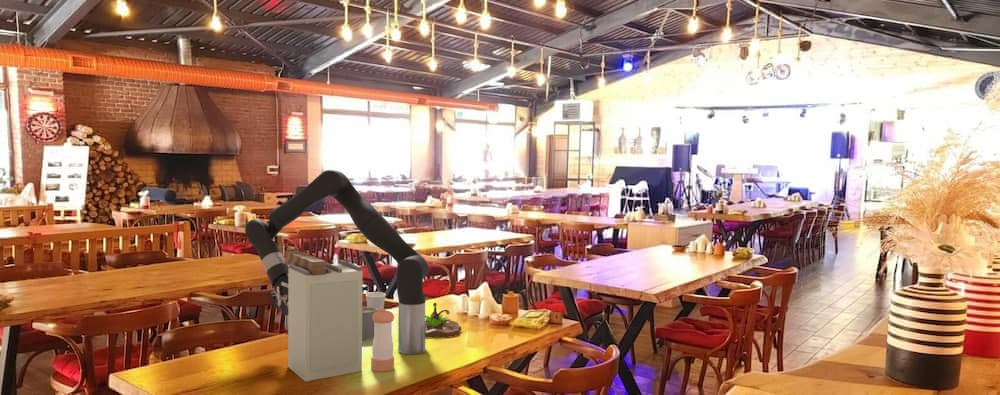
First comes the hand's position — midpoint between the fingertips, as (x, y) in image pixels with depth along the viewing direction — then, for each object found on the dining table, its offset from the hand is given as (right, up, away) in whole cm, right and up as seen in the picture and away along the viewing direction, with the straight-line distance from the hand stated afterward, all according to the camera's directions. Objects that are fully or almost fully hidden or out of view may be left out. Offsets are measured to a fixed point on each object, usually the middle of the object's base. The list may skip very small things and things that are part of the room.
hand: (294, 307), depth 217 cm
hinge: (-7, -15, +38) cm, 41 cm away
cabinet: (+13, -17, -12) cm, 25 cm away
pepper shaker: (+31, -18, -10) cm, 38 cm away
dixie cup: (+17, -14, +55) cm, 59 cm away
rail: (+8, +15, -14) cm, 22 cm away
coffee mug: (+17, -15, +29) cm, 37 cm away
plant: (+44, -16, +36) cm, 59 cm away
